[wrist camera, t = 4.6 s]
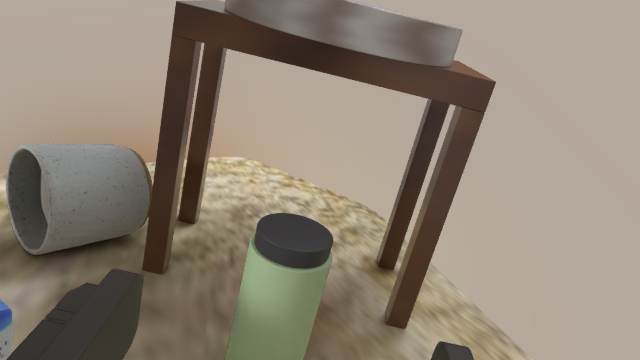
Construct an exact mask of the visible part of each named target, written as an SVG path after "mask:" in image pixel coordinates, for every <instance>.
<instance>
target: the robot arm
mask: <svg viewBox="0 0 640 360" xmlns="http://www.w3.org/2000/svg"><path fill="white" fill-rule="evenodd" d="M142 287H143V275H141V274H137V273H132V272H128V271H123V270H119V269H112V270H111V271H110V272H109V273H108V274H107V276H106V277H105V278H104V279H103V280H102V282H101V283H100V284H99V285H94V284H89V283H86V284H84V285H82V286H80V287H78V288H76V289H74V290H72V291H70V292H68V293H67V294H66V295H65V296H64V297H63V299H62V300H61V301H60V302H59V303H58V304H57V305H56V307H55V309H52V310H51V312H50V313H49V314H48V315H47V316H46V317H45V320H42V321H41V322H40V323H39V325H38V326H37V327H36V328H35V329H34V330H33V331H32V332H31V333H30V334H29V335H28V336H27V338H26V339H25V340H24V341H23V342H22V343H21V344H20V345H19V346H18V347H17V348H16V350H15V351H14V352H13V353H12V354H11V355H10V356H9V357H8V358H7V359H6V360H122V359H123V358H124V356H125V354H126V353H127V351H128V349H129V348H130V346H131V344H132V341H133V339H134V336H135V333H136V330H137V326H138V320H139V312H140V304H141V296H142ZM431 360H474V359H473V356H472V353H471V351H470V349H469V348H468V347H465V346H460V345H456V344H451V343H447V342H442V341H440V342H439V343H438V344H437V346H436V348H435V350H434V353H433V355H432V358H431Z"/></svg>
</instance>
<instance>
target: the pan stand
mask: <svg viewBox="0 0 640 360" xmlns="http://www.w3.org/2000/svg"><path fill="white" fill-rule="evenodd" d="M461 34H462V30H461V29H457V28H453V27H450V26H446V25H442V24H438V23H434V22H430V21H427V20H422V19H419V18H415V17H411V16H407V15H403V14H399V13H395V12H392V11H388V10H384V9H380V8H376V7H373V6H369V5H365V4H361V3H357V2H353V1H349V0H226V2H222V1H218V0H206V1H205V0H203V1H176V7H175V15H174V23H173V31H172V40H171V48H170V56H169V63H168V71H167V80H166V87H165V96H164V103H163V111H162V119H161V127H160V134H159V143H158V150H157V159H156V166H155V174H154V182H153V190H152V198H151V206H150V214H149V222H148V230H147V238H146V246H145V254H144V262H143V270H146V271H150V272H155V273H159V274H163V272H164V271H165V269H166V268H167V266H168V265H169V260H170V253H171V246H172V240H173V233H174V226H175V219H176V213H177V206H178V199H179V192H180V185H181V179H182V172H183V165H184V158H185V152H186V145H187V138H188V130H189V124H190V118H191V110H192V104H193V97H194V91H195V84H196V77H197V70H198V63H199V57H200V50H201V43H202V42H203V43H205V44H204V51H203V58H202V64H201V71H200V78H199V85H198V91H197V98H196V104H195V111H194V118H193V125H192V132H191V138H190V145H189V151H188V158H187V164H186V171H185V178H184V184H183V191H182V198H181V204H180V211H179V218H178V220H180V221H184V222H189V223H193V224H195V222H196V221H197V219H198V217H199V213H200V207H201V201H202V195H203V189H204V183H205V177H206V171H207V165H208V159H209V153H210V147H211V141H212V135H213V129H214V123H215V117H216V111H217V105H218V98H219V93H220V87H221V81H222V75H223V69H224V63H225V56H226V51H227V49H231V50H235V51H239V52H243V53H247V54H251V55H255V56H259V57H263V58H267V59H271V60H275V61H279V62H283V63H287V64H291V65H296V66H299V67H303V68H307V69H311V70H315V71H319V72H323V73H327V74H331V75H335V76H340V77H344V78H347V79H352V80H355V81H359V82H364V83H368V84H372V85H376V86H379V87H384V88H388V89H392V90H396V91H400V92H404V93H408V94H412V95H416V96H420V97H424V98H428V101H427V104H426V107H425V110H424V113H423V116H422V120H421V123H420V126H419V129H418V132H417V135H416V139H415V141H414V145H413V147H412V151H411V154H410V157H409V160H408V163H407V166H406V169H405V172H404V175H403V179H402V182H401V185H400V188H399V191H398V194H397V197H396V201H395V204H394V207H393V210H392V213H391V216H390V219H389V222H388V225H387V228H386V231H385V235H384V238H383V241H382V244H381V247H380V250H379V253H378V256H377V261H378V266H380V267H385V268H389V269H394V267H395V264H396V261H397V258H398V256H399V253H400V250H401V247H402V244H403V241H404V238H405V235H406V232H407V229H408V226H409V223H410V220H411V217H412V214H413V211H414V208H415V205H416V202H417V199H418V196H419V193H420V191H421V188H422V185H423V182H424V179H425V176H426V173H427V170H428V167H429V164H430V161H431V158H432V155H433V152H434V149H435V146H436V143H437V140H438V137H439V134H440V131H441V129H442V126H443V123H444V120H445V117H446V114H447V111H448V108H449V105H450V104H453V105H456V107H455V110H454V113H453V116H452V119H451V122H450V125H449V128H448V131H447V133H446V137H445V139H444V142H443V145H442V148H441V151H440V154H439V157H438V160H437V163H436V165H435V168H434V171H433V174H432V177H431V180H430V183H429V186H428V189H427V192H426V195H425V198H424V200H423V203H422V206H421V209H420V213H419V215H418V218H417V221H416V224H415V227H414V229H413V233H412V235H411V238H410V241H409V244H408V247H407V250H406V253H405V256H404V259H403V261H402V264H401V267H400V270H399V273H398V276H397V279H396V282H395V285H394V288H393V291H392V293H391V296H390V299H389V302H388V305H387V308H386V311H385V316H386V323H387V325H391V326H396V327H400V328H404V329H405V328H406V326H407V323H408V321H409V318H410V315H411V312H412V310H413V307H414V304H415V302H416V299H417V296H418V293H419V291H420V288H421V285H422V282H423V280H424V277H425V274H426V272H427V269H428V266H429V263H430V260H431V258H432V255H433V252H434V250H435V247H436V244H437V241H438V239H439V236H440V233H441V231H442V228H443V225H444V222H445V220H446V217H447V214H448V211H449V209H450V206H451V203H452V201H453V198H454V195H455V193H456V190H457V187H458V184H459V182H460V179H461V176H462V173H463V171H464V168H465V165H466V162H467V160H468V157H469V154H470V152H471V149H472V146H473V143H474V141H475V138H476V135H477V132H478V130H479V127H480V124H481V121H482V119H483V116H484V112H485V111H486V108H487V105H488V103H489V100H490V97H491V95H492V92H493V89H494V86H495V83H496V82H495V81H493V80H491V79H490V78H488V77H486V76H484V75H483V74H481V73H479V72H477V71H475V70H473V69H472V68H470V67H468V66H466V65H464V64H462V63H460V62H459V61H455V60H453V59H454V55H455V53H456V49H457V47H458V43H459V40H460V37H461Z"/></svg>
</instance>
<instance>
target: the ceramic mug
mask: <svg viewBox="0 0 640 360" xmlns="http://www.w3.org/2000/svg"><path fill="white" fill-rule="evenodd" d="M152 190H153V186H152V180H151V176H150V173H149V170H148V168H147V166H146V164H145V162H144V160H143V159H142V158H141V157H140V155H138V154H137V153H136V152H135V151H133V150H132V149H130V148H126V147H121V146H116V145H109V144H98V145H97V144H95V145H78V144H75V145H74V144H24V145H21V146H19V147H18V148H17V149H16V150H15V151H14V153H13V154H12V156H11V159H10V162H9V165H8V168H7V176H6V193H7V205H8V210H9V216H10V219H11V223H12V227H13V230H14V233H15V235H16V236H17V238H18V240H19V242H20V244H21V245H22V246H23V248H24V249H25V250H26V251H28V253H30V254H34V255H40V254H45V253H49V252H53V251H58V250H62V249H67V248H72V247H76V246H81V245H85V244H89V243H93V242H97V241H102V240H107V239H112V238H116V237H121V236H124V235H127V234H129V233H132V232H134V231H136V230H138V229H139V228H141V227H142V226H143V225H144V224H145V222H146V220H147V218H148V216H149V214H150V206H151V198H152Z"/></svg>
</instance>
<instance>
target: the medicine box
mask: <svg viewBox="0 0 640 360" xmlns="http://www.w3.org/2000/svg"><path fill="white" fill-rule="evenodd" d="M12 332H13V322H12V310H11V308H10V307H9V306H7V305H6V304H5V303H4V302H3V301H1V300H0V360H6V359H7V358H8V357H9V356H10V355H11V354H12Z"/></svg>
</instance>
